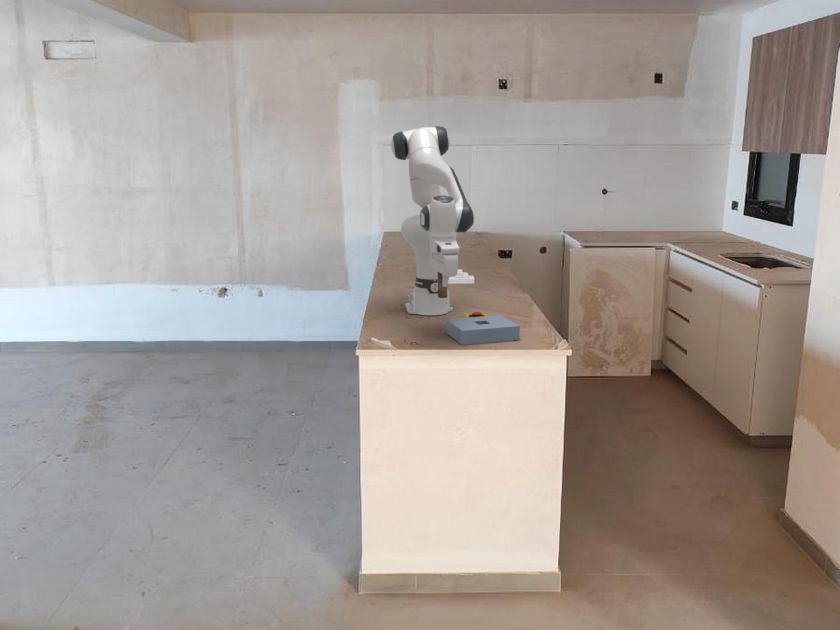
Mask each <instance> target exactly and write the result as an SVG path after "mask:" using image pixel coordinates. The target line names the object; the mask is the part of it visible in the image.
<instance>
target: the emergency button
mask: <svg viewBox="0 0 840 630" xmlns="http://www.w3.org/2000/svg"><path fill="white" fill-rule="evenodd" d="M482 316H490V315H489V313H482V312H480V311H479V312H477V311H475V312H467V313H464V318H468V317H482Z"/></svg>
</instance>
